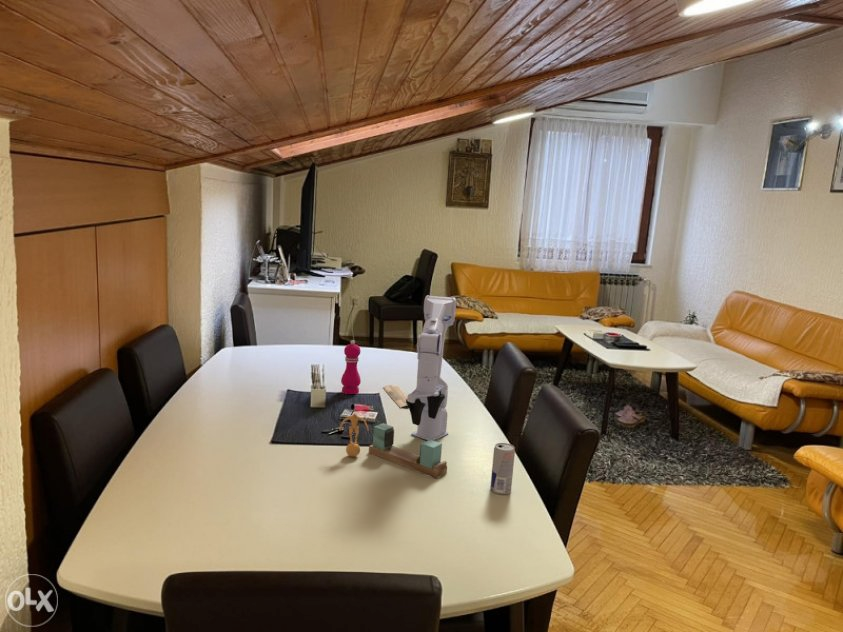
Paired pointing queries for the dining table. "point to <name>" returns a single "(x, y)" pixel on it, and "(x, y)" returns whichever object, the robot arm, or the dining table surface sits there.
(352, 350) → the pepper mill
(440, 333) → the robot arm
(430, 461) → the block
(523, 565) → the dining table surface
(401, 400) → the tan flat bar
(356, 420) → the figurine
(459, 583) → the dining table surface
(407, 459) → the rail
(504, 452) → the energy drink
